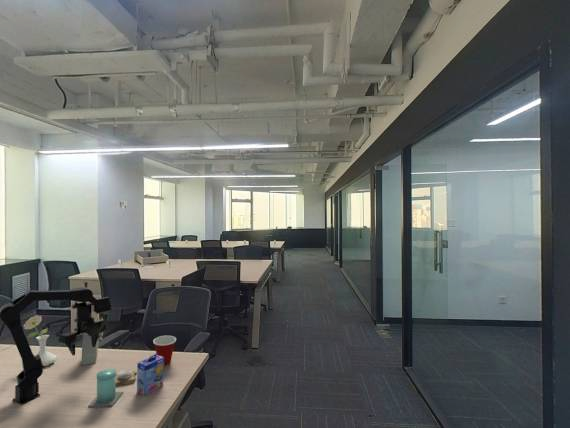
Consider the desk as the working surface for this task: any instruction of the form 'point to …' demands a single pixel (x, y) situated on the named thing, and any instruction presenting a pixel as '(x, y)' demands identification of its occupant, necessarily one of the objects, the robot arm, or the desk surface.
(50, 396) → the desk surface
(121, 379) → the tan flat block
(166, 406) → the desk surface
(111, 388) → the teal rounded cylinder
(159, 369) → the ink cartridge box
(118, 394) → the mat
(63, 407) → the desk surface
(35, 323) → the flower in vase
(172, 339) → the plastic cup
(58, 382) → the desk surface
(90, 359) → the skincare box
